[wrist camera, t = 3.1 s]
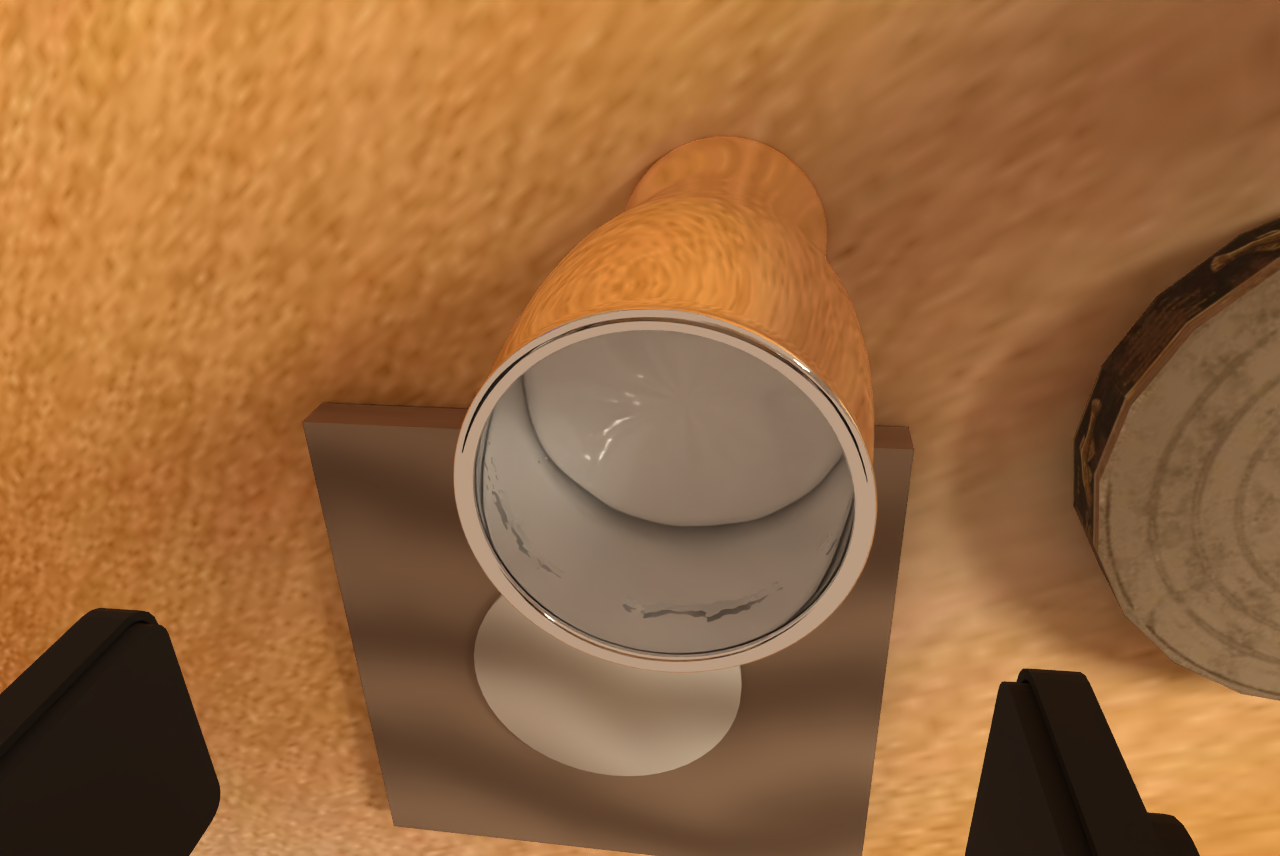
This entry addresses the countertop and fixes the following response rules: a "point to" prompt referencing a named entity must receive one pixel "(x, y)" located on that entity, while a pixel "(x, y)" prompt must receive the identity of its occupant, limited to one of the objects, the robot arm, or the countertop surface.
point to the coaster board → (587, 679)
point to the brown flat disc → (1195, 468)
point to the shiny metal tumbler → (680, 426)
